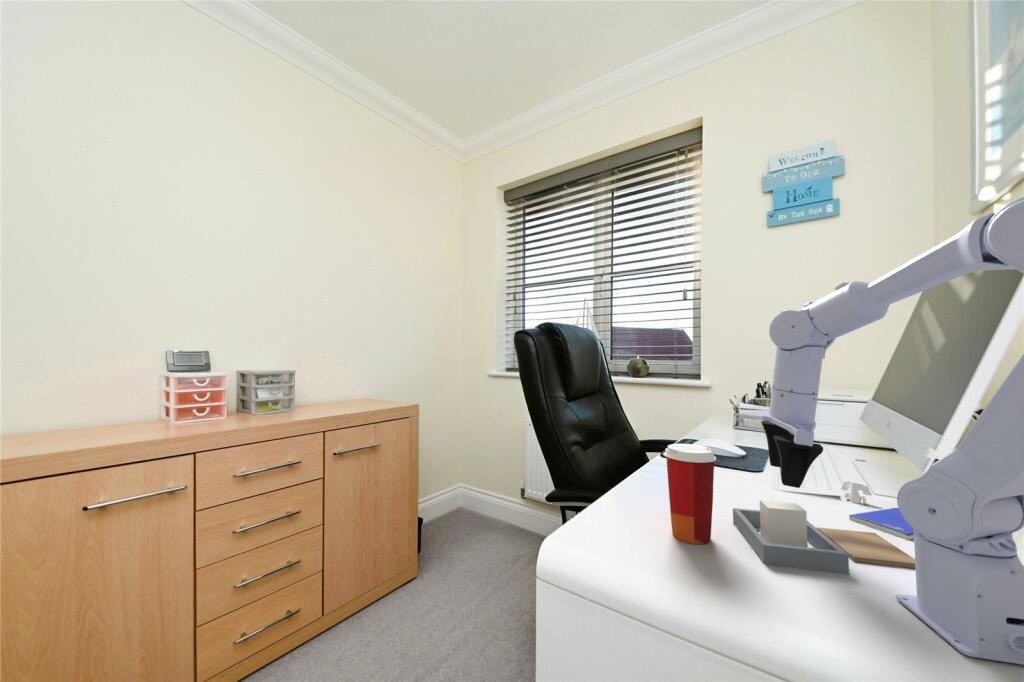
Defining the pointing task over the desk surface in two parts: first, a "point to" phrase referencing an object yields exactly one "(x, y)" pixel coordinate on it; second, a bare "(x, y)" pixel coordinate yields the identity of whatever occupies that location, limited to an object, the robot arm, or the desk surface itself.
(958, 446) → the robot arm
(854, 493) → the clip
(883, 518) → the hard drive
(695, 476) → the paper cup
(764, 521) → the block
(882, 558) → the pad
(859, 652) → the desk surface
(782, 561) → the tray
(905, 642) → the desk surface
